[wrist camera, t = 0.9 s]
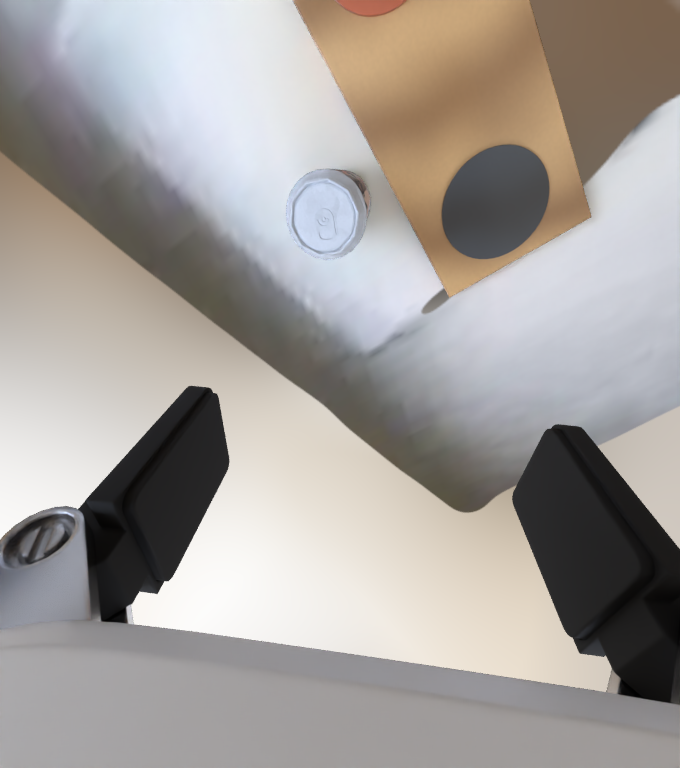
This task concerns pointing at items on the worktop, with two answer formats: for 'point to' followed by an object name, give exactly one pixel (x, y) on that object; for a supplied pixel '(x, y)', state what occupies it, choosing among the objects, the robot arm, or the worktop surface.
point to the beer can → (328, 212)
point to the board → (457, 123)
